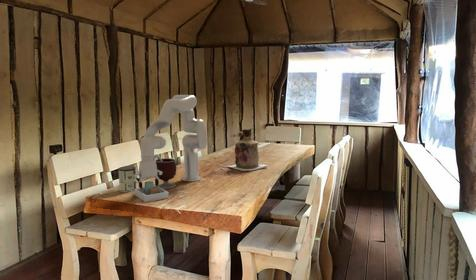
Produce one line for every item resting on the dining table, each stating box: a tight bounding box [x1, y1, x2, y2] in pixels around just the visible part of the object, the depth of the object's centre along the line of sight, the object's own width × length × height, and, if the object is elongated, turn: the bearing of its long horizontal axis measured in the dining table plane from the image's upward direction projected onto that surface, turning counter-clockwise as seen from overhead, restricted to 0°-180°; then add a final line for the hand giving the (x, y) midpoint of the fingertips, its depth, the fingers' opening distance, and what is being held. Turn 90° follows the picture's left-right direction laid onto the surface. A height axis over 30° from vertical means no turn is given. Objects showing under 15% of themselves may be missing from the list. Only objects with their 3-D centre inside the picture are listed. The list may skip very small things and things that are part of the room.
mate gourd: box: [155, 154, 177, 190], centre depth 238 cm, size 16×14×20 cm
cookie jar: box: [226, 128, 268, 172], centre depth 293 cm, size 25×25×32 cm
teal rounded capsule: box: [144, 180, 154, 195], centre depth 219 cm, size 5×5×7 cm
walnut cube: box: [148, 187, 160, 195], centre depth 212 cm, size 5×5×5 cm
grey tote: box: [134, 185, 170, 203], centre depth 216 cm, size 18×14×4 cm
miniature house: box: [117, 165, 137, 193], centre depth 229 cm, size 10×10×14 cm
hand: (148, 187), depth 219 cm, fingers open, 9 cm apart
